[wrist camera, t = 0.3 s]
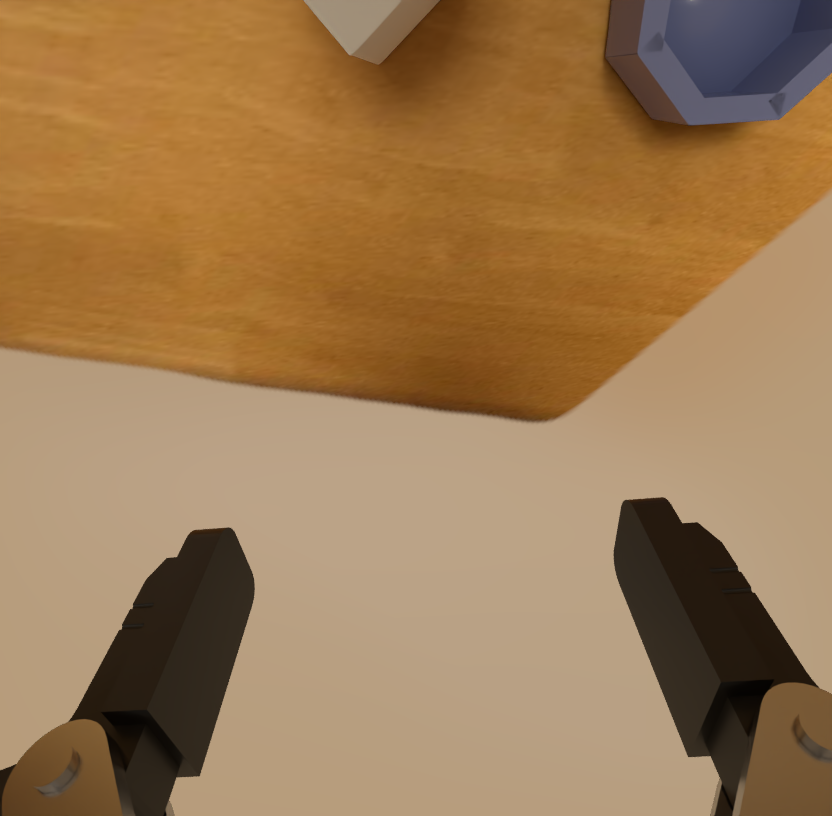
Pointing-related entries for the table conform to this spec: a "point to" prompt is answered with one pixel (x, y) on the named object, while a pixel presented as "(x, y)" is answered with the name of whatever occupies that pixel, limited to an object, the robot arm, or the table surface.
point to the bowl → (720, 56)
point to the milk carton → (370, 23)
